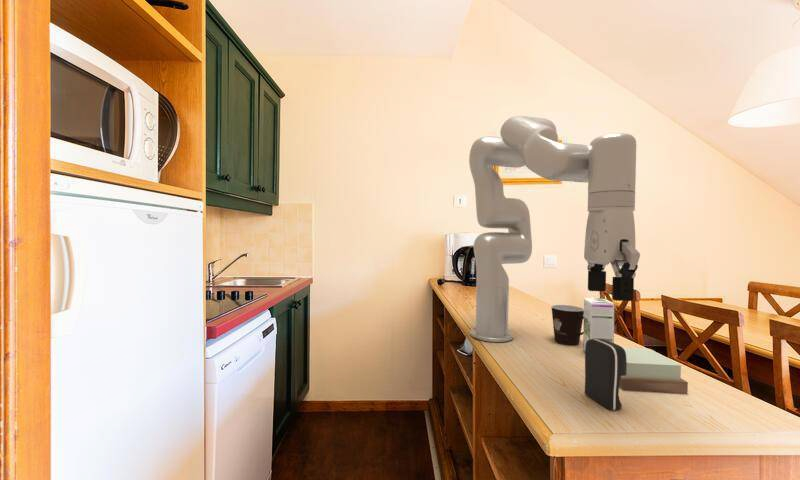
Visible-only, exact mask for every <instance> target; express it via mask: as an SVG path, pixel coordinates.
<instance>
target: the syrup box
mask: <svg viewBox="0 0 800 480" xmlns="http://www.w3.org/2000/svg"><path fill="white" fill-rule="evenodd" d="M583 309H584V315H583V317H584V319H583V331H582V332H583V335H582V337H583V341H582V344H583V349H582V350H583V352H584V353H585V347H586V342H587V341H588V340H590V339H604V340H607V341H610V342H612V343H615V303H614V302H612V301H610V300H608V299H606V298H598V297H597V298H596V297H587V298H586V297H585V298H583Z"/></svg>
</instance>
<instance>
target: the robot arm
mask: <svg viewBox="0 0 800 480" xmlns="http://www.w3.org/2000/svg"><path fill="white" fill-rule="evenodd" d="M500 127H501V128H500V132H499V135H500V136H482V137H479V138H477V139H476V140H475V141H473V143H472V145H471V148H470V149H469V150H470V151H469V156H468V157H469V158H468V159H469V160H468V161H469V162H468V163H469V170H470V172H471V176H472V180H473V183H474V192H475V193H474V195H475V196H474V197H475V210H476V219H477V223H478V225H479V226H480V227H482V228H486V229H505V230H506V229H507V230H508V232H504V231H503V232H500V231H499V232H498V231H495V232H494V231H493V232H492V231H491V232H483V233H481V234H479V235H478V236H477V237H476V238H475V240H474V242H473V254H474V258H475V259H474V260H475V267H476V269H475V270H476V271H475V272H476V278H475V279H476V283H475V285H476V289H475V290H476V291H475V293H476V295H475V307H476V308H475V327H474V328H472V329H471V330H470V336H471V337H472V338H474V339H475V340H476V339H477V340H480V341H482V342H483V341H484V342H491V343H505V342H510V341H512V340H513V339H514V333H513V332H512V331H510V330H509V299H510V298H509V297H510V296H509V295H510V293H509V291H510V279H509V276H508V273H507V271H506V270H505V268H504V267H503V265H507V264H510V265H511V264H514V265H515V264H523V263H526V262H528V261H529V259H530V258H531V255H532V253H533V252H532V251H533V239H532V226H531V216H530V210H529V207H528V205H527V204H526V202H525V201H523V200H522V199H520V198H514V197H513V198H512V197H505V193H504V183H503V180H502V178H501V177H500V175H499V173H498V172H497V171H496V170H495V169H494V167H501V168H523V167H526V168H527V169H528V170H529V171H531V172H532V173H534V174H536V175H538V176H539V177H541V178H543V179H546V180H549V181H554V182H555V181H556V182H572V183H574V182H575V183H587V212H588V214H587V219H586V224H585V225H586V226H585V235H584V236H585V237H584V238H585V239H584V251H583V253H584V254H583V257H584V260H585V261H586V262H587V266H586V267H587V270H588V271H587V290H588V291H589V292H606V287H607V286H606V283H607V271H606V270H605V268H606V266H608V265H611V268H612V270H613V272H614V276H612V284H611V285H612V288H611V289H612V290H611V297H612V298H611V299H612V300H614V301H620V302H621V301H622V302H623V301H625V302H628V301H629V302H632V301H634V292H635V291H634V289H635V288H634V287H635V285H634V284H635V283H634V282H635V278H636V276H637V275H636V274H637V273H636V271H637V269H638V268H639V266H638V263H639V260H640V257H641V253H640V252H639V251H638V250H637V248H636V225H635V224H636V223H635V216H634V211H636V183H637V182H636V177H637V173H636V172H637V169H636V168H637V140H636V137H635V136H634V135H632V134H629V133H623V132H622V133H621V132H620V133H617V132H616V133H608V134H604V135H601V136H597V137H595V138H594V139H593V140H591V142H590V143H589V144H581V143H572V142H571V143H569V142H559V136H558V133H557V132H558V130H557V128H556V127H557V126H556V125H555V124H554V122H553V121H552V120H550V119H548V118H545V117H544V118H543V117H535V116H527V115H525V116H524V115H515V116H512V117H509V118H508V119H507V120H505V121H504V122H503V123H502V125H501V126H500Z"/></svg>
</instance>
